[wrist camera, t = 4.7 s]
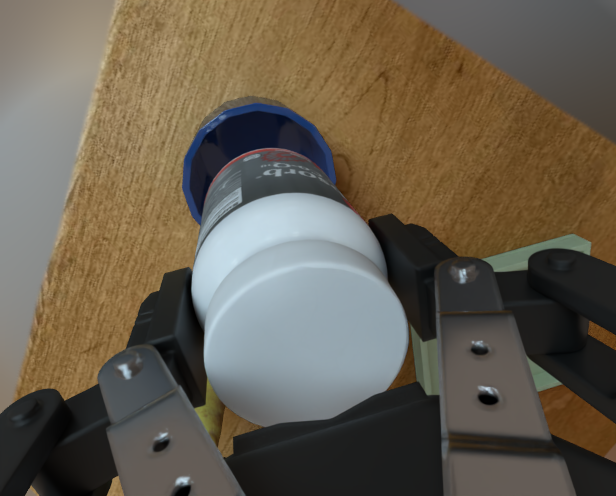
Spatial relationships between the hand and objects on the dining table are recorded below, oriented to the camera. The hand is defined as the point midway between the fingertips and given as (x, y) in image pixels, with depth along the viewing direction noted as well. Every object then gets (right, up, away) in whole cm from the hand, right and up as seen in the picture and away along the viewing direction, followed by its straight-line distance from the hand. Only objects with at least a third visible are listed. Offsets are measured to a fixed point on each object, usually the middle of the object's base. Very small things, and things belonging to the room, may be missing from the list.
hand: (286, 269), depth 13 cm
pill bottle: (-1, +2, +5) cm, 6 cm away
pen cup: (-3, +6, +15) cm, 16 cm away
